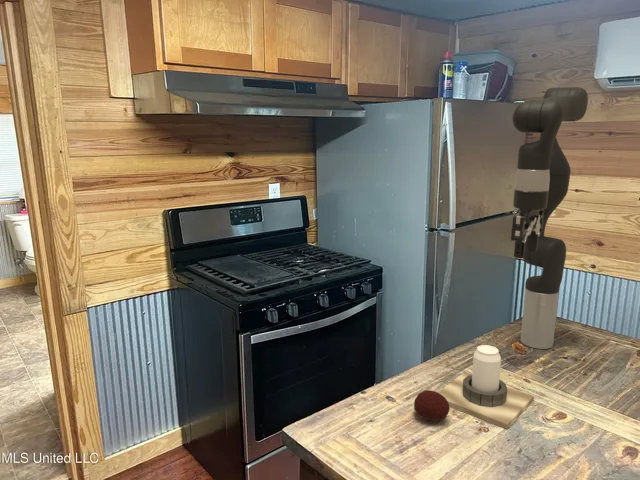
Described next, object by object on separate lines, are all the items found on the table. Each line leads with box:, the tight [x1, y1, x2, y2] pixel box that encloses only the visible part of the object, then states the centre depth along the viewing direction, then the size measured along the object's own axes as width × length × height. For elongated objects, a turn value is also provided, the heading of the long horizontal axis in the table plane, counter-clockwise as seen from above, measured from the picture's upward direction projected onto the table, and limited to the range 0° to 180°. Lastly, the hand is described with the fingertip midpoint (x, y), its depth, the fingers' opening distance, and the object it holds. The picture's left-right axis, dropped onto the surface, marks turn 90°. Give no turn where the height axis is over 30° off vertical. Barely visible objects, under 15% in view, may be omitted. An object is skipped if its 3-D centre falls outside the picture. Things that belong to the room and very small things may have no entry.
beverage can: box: [471, 344, 502, 393], centre depth 118 cm, size 6×6×12 cm
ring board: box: [438, 371, 535, 430], centre depth 119 cm, size 16×18×4 cm
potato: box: [413, 389, 450, 421], centre depth 112 cm, size 7×8×6 cm
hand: (525, 254), depth 121 cm, fingers open, 8 cm apart
